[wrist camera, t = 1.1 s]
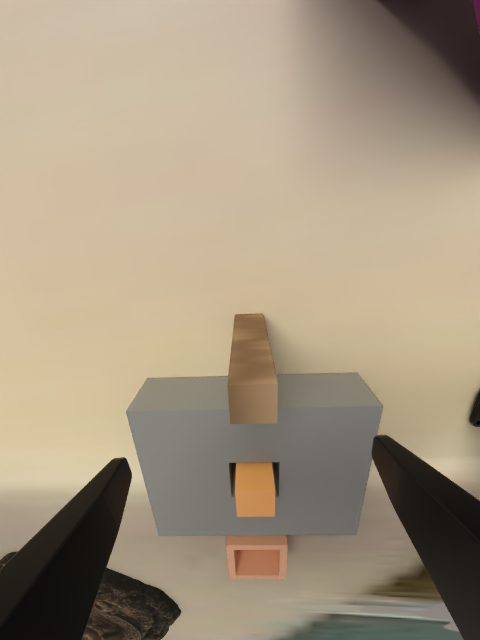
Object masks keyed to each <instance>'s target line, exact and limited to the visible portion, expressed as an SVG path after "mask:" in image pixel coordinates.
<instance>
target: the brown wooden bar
mask: <svg viewBox="0 0 480 640" xmlns="http://www.w3.org/2000/svg"><path fill="white" fill-rule="evenodd" d="M227 387H228V400H229V414H230V424H266V423H277V408H278V382H277V377H276V373H275V368H274V363H273V359H272V354H271V349H270V345H269V340H268V335H267V330H266V326H265V321H264V316H263V314H238V315H235V320H234V329H233V338H232V347H231V356H230V366H229V375H228V384H227Z"/></svg>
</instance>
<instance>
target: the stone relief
mask: <svg viewBox="0 0 480 640" xmlns="http://www.w3.org/2000/svg"><path fill="white" fill-rule="evenodd" d="M16 553H17V552H11V553H9V554H7V555H6V556H4V557H3V558H2V559H1V560H0V570H1V568H2V567H3V566H4V565H5V564H6V563H7V562H8V561H9V560H10V559H11V558H12V557H13V556H14V555H15V554H16ZM180 613H181V610H180V609H179V607H178V605H177V604H176V603H175V602H174V601H173V600H172V599H171V598H170V597H169V596H168V595H166V594H165V593H164V592H163V591H161V590H160V589H158V588H156V587H153V586H150V585H147V584H144V583H143V582H141V581H139V580H136V579H133V578H131V577H128V576H126V575H123V574H121V573H118V572H116V571H113V570H110V569H108V568H106V570H105V573H104V576H103V578H102V581H101V584H100V587H99V590H98V593H97V596H96V599H95V602H94V605H93V608H92V611H91V614H90V617H89V620H88V623H87V626H86V628H85V631H84V634H83V637H82V640H161V639H162V638H163V637H164V636H165V635H166V633H167V632H168V630H169V626H170V625H172V624H173V623H174V621H175V620H176V619H177V618H178V617H179V615H180Z"/></svg>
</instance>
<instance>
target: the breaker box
mask: <svg viewBox="0 0 480 640" xmlns="http://www.w3.org/2000/svg"><path fill="white" fill-rule="evenodd" d="M276 377H277V382H278V408H277V423H266V424H230V414H229V400H228V387H227V384H228V376H215V377H178V378H147V380H146V381H145V383H144V384H143V386H142V387H141V389H140V390H139V392H138V393H137V395H136V397H135V398H134V400H133V401H132V403H131V404H130V406H129V407H128V409H127V411H126V413H127V417H128V421H129V425H130V429H131V432H132V436H133V440H134V444H135V448H136V451H137V455H138V459H139V463H140V467H141V470H142V474H143V478H144V482H145V485H146V489H147V493H148V497H149V501H150V504H151V508H152V512H153V516H154V520H155V523H156V527H157V531H158V535H159V536H232V535H356V534H357V529H358V524H359V520H360V515H361V510H362V505H363V500H364V495H365V491H366V486H367V481H368V476H369V471H370V466H371V462H372V445H373V439H374V437H375V436H377V433H378V428H379V423H380V418H381V413H382V408H383V405H382V404H381V402H380V401H379V400H378V398H377V397H376V396H375V395H374V393H373V392H372V391H371V389H370V388H369V387H368V386H367V384H366V383H365V382H364V380H363V379H362V378H361V377H360V375H359V374H358V373H327V374H289V375H276ZM254 462H272V467H273V475H274V484H275V517H237V511H236V497H235V478H236V463H254Z"/></svg>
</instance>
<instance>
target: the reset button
mask: <svg viewBox="0 0 480 640" xmlns="http://www.w3.org/2000/svg"><path fill="white" fill-rule="evenodd" d="M235 497H236V511H237V517H275V484H274V475H273V467H272V462H254V463H236V478H235Z"/></svg>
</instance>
